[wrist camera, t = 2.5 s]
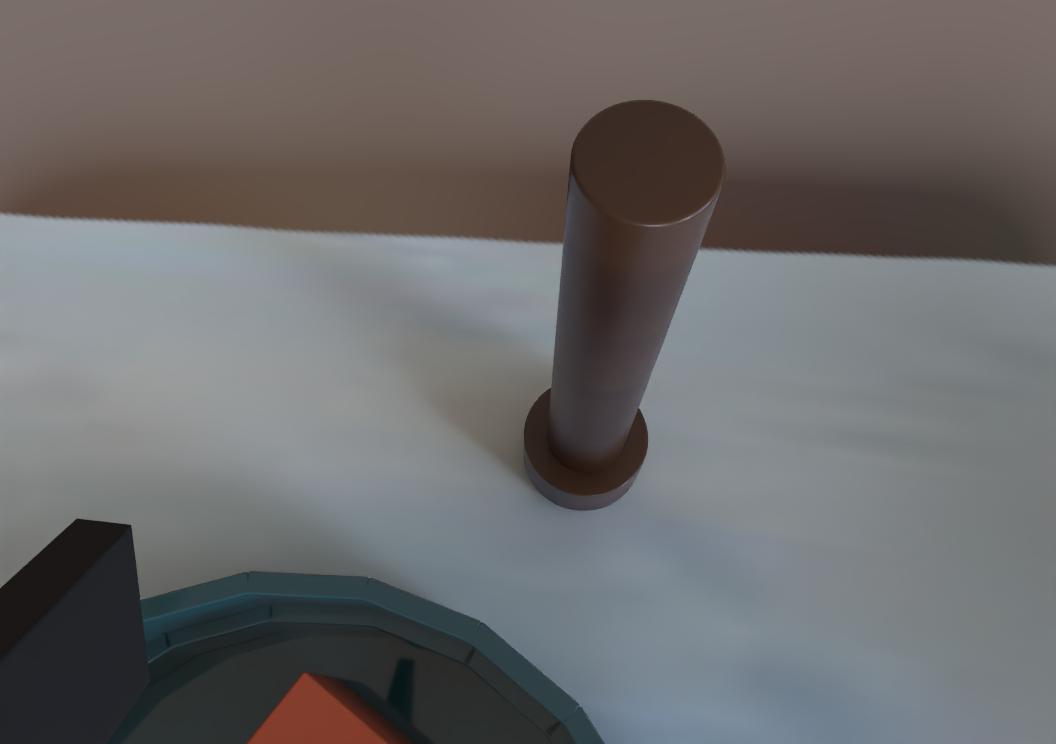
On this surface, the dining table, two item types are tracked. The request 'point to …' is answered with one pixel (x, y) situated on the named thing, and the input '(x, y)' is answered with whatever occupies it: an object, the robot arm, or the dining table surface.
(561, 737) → the bowl
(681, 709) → the dining table surface
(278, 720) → the terracotta block
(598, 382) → the pestle
